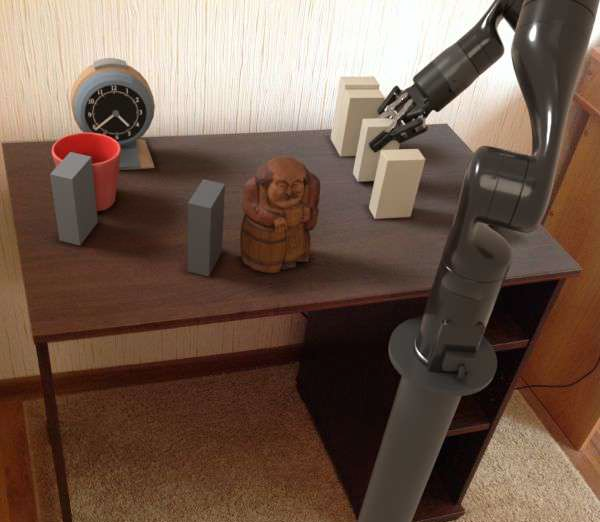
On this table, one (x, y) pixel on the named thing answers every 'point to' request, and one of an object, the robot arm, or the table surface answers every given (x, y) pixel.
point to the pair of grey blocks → (83, 217)
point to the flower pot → (94, 162)
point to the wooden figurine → (279, 215)
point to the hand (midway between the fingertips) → (368, 143)
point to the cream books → (392, 163)
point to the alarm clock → (115, 108)
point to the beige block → (365, 155)
